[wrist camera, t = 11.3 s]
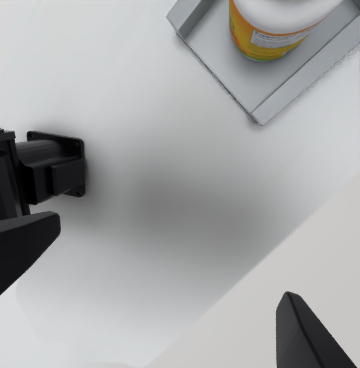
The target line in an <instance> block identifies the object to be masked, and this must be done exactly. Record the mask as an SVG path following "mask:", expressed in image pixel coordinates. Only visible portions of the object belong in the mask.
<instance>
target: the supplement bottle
mask: <svg viewBox="0 0 360 368" xmlns="http://www.w3.org/2000/svg"><path fill="white" fill-rule="evenodd" d="M342 1H343V0H229V27H230V34H231V38H232V41H233V43H234V45H235V47H236V48H237V50H238V51H239V52H240V53H241V54H242V55H244V56H245V57H247V58H248V59H251V60H254V61H258V62H269V61H273V60H276V59H279V58H281V57H283V56H285V55H287V54H288V53H290V52H291V51H292V50H294V49H295V48H296V47H297V46H298V45H299V44H300V43H301V42H302V41H303V40H304V39H305V38H306V37H307V36H308V35H309V34H310V33H311V32H312V31H313V30H314V29H315V28H317V26H318V25H319V24H320V23H321V22H322V21H323V20H324V19H325V18H326V17H327V16H328V15H329V14H330V13H332V12H333V11H334V10H335V9H336V8H337V7H338V5H339V4H340V3H341V2H342Z"/></svg>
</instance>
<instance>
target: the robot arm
mask: <svg viewBox="0 0 360 368" xmlns="http://www.w3.org/2000/svg"><path fill="white" fill-rule="evenodd" d="M32 136H33V137H32ZM14 138H16V137H15V132H14V131H4V129H1V128H0V295H1V294H2V293H3V292H4V291H5V290H6V289H7V288H8V287H10V286H11V285H12V284H13V283H14V282H15V281H16V280H17V279H18V278H19V277H20V276H21V275H22V274H24V273H25V272H26V271H27V270H28V269H29V268H30V267H31V266H32V265H33V264H34V263H35V262H36V260H37V259H38V258H39V257H40V256H41V255H42V254H43V253H44V252H45V250H46V249H47V248H48V247H49V246H50V245H51V244H52V243H53V242H54V240H55V239H56V238H57V237H58V236H59V234H60V232H61V225H60V216H59V214H57V213H54V212H51V211H47V212H42V213H37V214H32V215H31V213H30V208H29V206H31V205H37V204H39V203H42V202H44V201H46V200H48V199H50V198H52V197H54V196H58V195H60V194H66V195H71V196H75V197H82V196H84V194H85V175H84V154H83V142H82V140H81V139H79V138H73V137H67V136H61V135H55V134H49V133H43V132H37V131H28V132H27V142H20V143H15V139H14ZM77 142H78V145H77ZM79 192H80V193H81V194H80V193H79ZM276 358H277V359H276V360H277V368H357V367H356V366H355V365H354V363H353V362H352V361H351V359H350V358H349V357H348V356H347V354H346V353H345V352H344V350H343V349H342V348H341V347H340V346H339V344H338V343H337V342H336V340H335V339H334V338H333V337H332V335H331V334H330V333H329V332H328V330H327V329H326V328H325V327H324V325H323V324H322V323H321V322H320V320H319V319H318V318H317V316H316V315H315V314H314V313H313V311H312V310H311V309H310V308H309V306H308V305H307V304H306V302H305V301H304V300H303V299H302V297H301V296H299V295H298V294H295V293H292V292H288V291H287V292H285V293H284V295H283V297H282V299H281V301H280V303H279V305H278V307H277V310H276Z"/></svg>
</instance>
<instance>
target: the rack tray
mask: <svg viewBox="0 0 360 368" xmlns="http://www.w3.org/2000/svg"><path fill="white" fill-rule="evenodd" d="M166 18H167V19H168V21H169V22H170V24H171V25H172V27H173V28H174V30H175V31H176V33H177V34H178V35H179V36H180V37H181V38H182V39H183V40H184V42H185V43H186V44H187V45H188V46H189V47H190V48H191V49H192V50H193V52H194V53H195V54H196V55H197V56H198V57H199V58H200V59H201V61H202V62H203V63H204V64H205V65H206V66H207V67H208V68H209V70H210V71H211V72H212V73H213V74H214V75H215V76H216V77H217V79H218V80H219V81H220V82H221V83H222V84H223V85H224V86H225V87H226V89H227V90H228V91H229V92H230V93H231V94H232V95H233V96H234V98H235V99H236V100H237V101H238V102H239V103H240V104H241V105H242V107H243V108H244V109H245V110H246V111H247V112H248V113H249V114H250V116H251V117H252V118H253V119H254V120H255V121H256V122H257V123H258V124H259V125H262V126H263V125H265V124H266V123H267V122H268V121H269V120H270V119H272V118H273V117H274V116H275V115H276V114H277V113H279V112H280V111H281V110H282V109H283V108H284V107H285V106H287V105H288V104H289V103H290V102H291V101H292V100H294V99H295V98H296V97H297V96H298V95H299V94H300V93H302V92H303V91H304V90H305V89H306V88H307V87H309V86H310V85H311V84H312V83H313V82H314V81H315V80H317V79H318V78H319V77H320V76H321V75H322V74H324V73H325V72H326V71H327V70H328V69H329V68H331V67H332V66H333V65H334V64H335V63H336V62H337V61H339V60H340V59H341V58H342V57H343V56H344V55H346V54H347V53H348V52H349V51H350V50H351V49H352V48H354V47H355V46H356V45H357V44H358V43H359V42H360V0H343V1H342V2H341V3H340V4H339V5H338V7H337V8H336V9H335V10H334V11H333V12H332V13H330V14H329V15H328V16H327V17H326V18H325V19H324V20H323V21H322V22H321V23H320V24H319V25H318V26H317V28H315V29H314V30H313V31H312V32H311V33H310V34H309V35H308V36H307V37H306V38H305V39H304V40H303V41H302V42H301V43H300V44H299V45H298V46H297V47H296V48H295V49H294V50H292V51H291V52H290V53H288V54H287V55H285V56H283V57H281V58H279V59H276V60H273V61H269V62H258V61H254V60H251V59H248V58H247V57H245V56H244V55H242V54H241V53H240V52H239V51H238V50H237V48H236V47H235V45H234V43H233V41H232V38H231V34H230V27H229V0H178V1H177V2H176V3H175V5H174V6H173V7H172V9H171V10H170V12H169V13H168V14H167V16H166Z"/></svg>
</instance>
